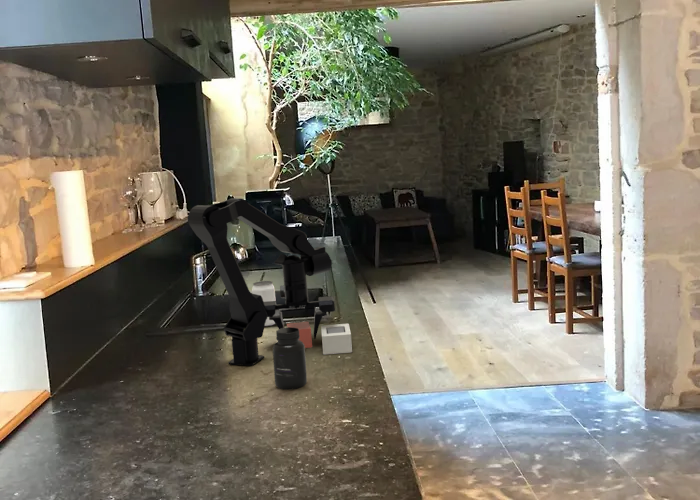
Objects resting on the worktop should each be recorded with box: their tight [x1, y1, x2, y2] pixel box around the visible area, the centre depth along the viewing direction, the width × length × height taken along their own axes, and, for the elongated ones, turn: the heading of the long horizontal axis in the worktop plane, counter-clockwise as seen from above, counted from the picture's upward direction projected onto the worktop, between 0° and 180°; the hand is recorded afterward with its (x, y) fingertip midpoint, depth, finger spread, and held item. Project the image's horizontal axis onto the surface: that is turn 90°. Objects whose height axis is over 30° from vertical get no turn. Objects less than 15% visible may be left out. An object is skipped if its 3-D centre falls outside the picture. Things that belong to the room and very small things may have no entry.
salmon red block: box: [286, 321, 313, 349], centre depth 175 cm, size 7×6×5 cm
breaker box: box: [320, 323, 353, 356], centre depth 171 cm, size 10×7×4 cm
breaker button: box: [327, 327, 344, 334], centre depth 171 cm, size 5×4×3 cm
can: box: [251, 280, 277, 327], centre depth 198 cm, size 6×6×12 cm
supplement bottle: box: [272, 327, 308, 391], centre depth 146 cm, size 7×7×12 cm
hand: (300, 339), depth 176 cm, fingers open, 7 cm apart
